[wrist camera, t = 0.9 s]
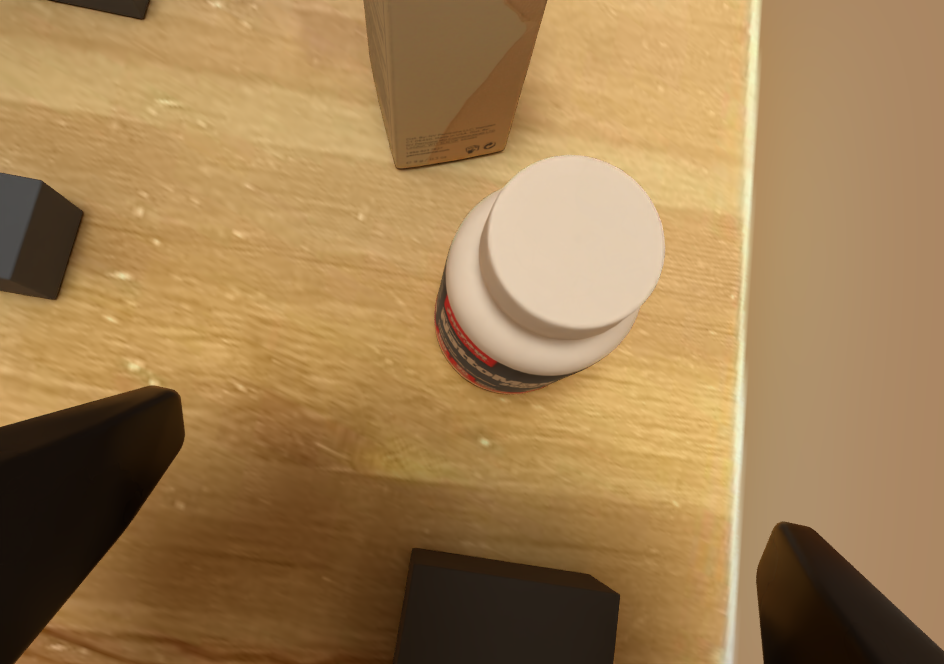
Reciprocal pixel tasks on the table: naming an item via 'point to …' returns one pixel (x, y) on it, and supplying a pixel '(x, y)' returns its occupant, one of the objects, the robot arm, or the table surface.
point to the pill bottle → (548, 274)
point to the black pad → (502, 613)
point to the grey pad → (42, 212)
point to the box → (449, 73)
